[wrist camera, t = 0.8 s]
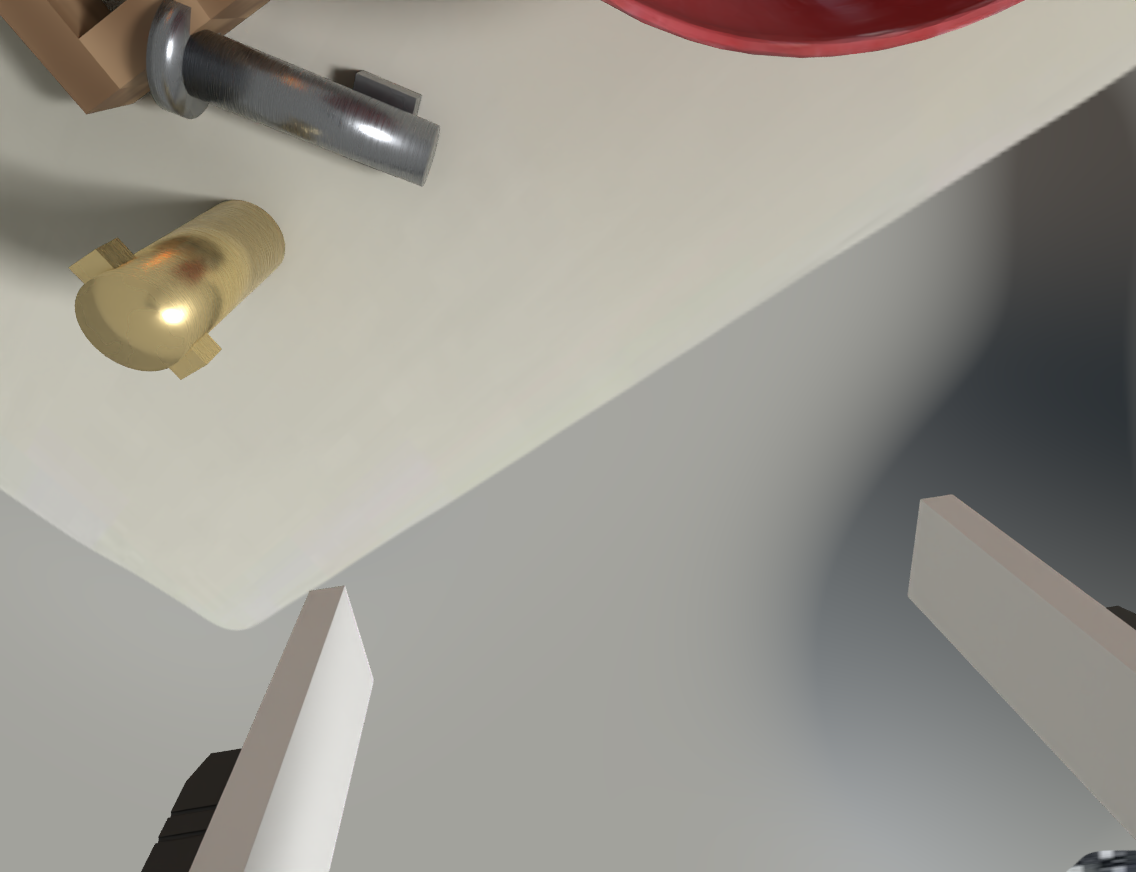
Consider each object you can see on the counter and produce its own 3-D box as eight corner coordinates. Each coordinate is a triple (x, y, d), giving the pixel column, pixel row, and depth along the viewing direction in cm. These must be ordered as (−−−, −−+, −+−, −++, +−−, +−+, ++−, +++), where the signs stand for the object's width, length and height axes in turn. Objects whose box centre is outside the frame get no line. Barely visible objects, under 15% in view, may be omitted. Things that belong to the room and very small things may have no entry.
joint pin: (236, 171, 35) (109, 237, 25) (310, 266, 38) (222, 358, 28) (177, 211, 36) (34, 289, 26) (254, 299, 39) (151, 400, 29)
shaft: (200, 101, 33) (144, 117, 29) (209, -7, 31) (147, -10, 26) (427, 190, 36) (409, 218, 31) (452, 96, 33) (436, 111, 29)
